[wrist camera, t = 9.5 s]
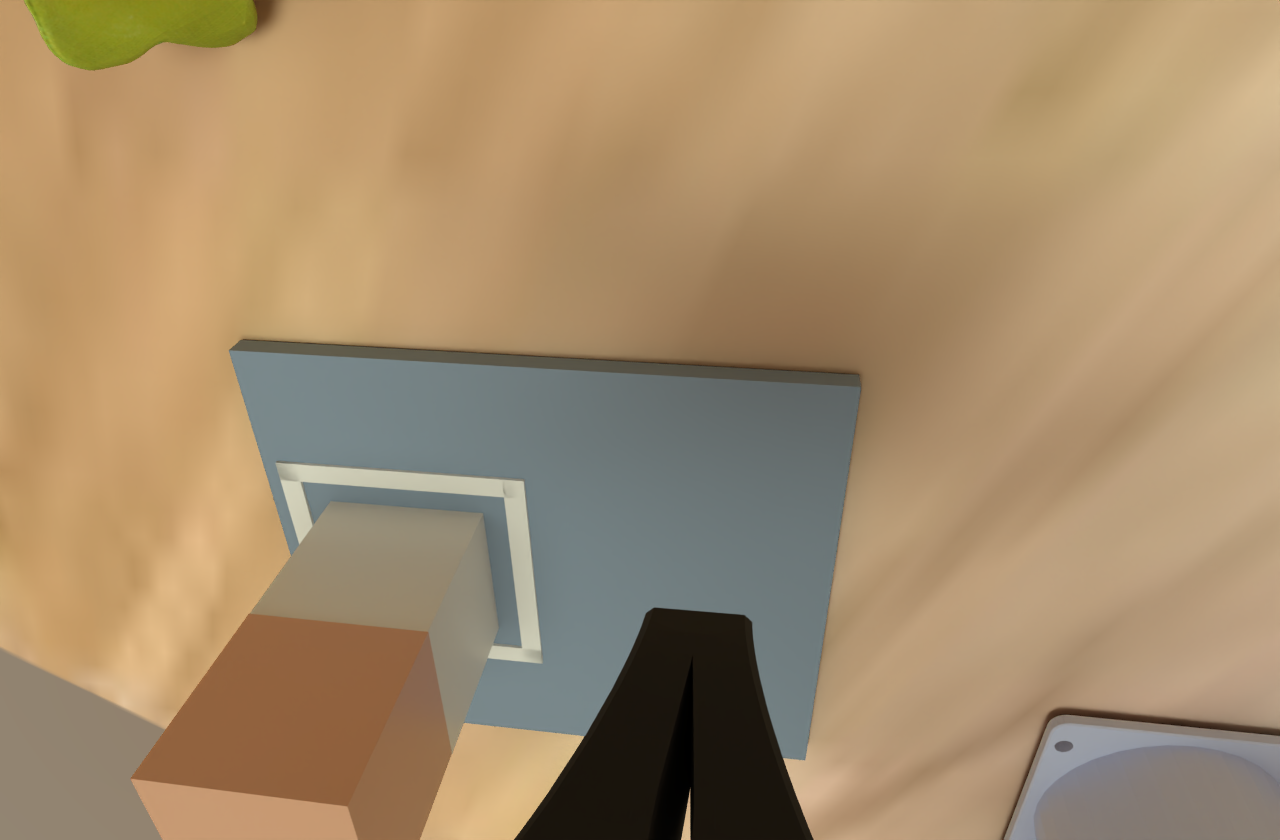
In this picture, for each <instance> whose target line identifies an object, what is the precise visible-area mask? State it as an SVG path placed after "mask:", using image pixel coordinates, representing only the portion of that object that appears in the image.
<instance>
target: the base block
mask: <svg viewBox="0 0 1280 840" xmlns="http://www.w3.org/2000/svg"><path fill="white" fill-rule="evenodd" d="M250 614H257V615H267V616H277V617H287V618H297V619H306V620H316V621H326V622H336V623H346V624H356V625H365V626H375V627H385V628H395V629H405V630H414V631H424V632H429V638H430V643H431V648H432V653H433V658H434V663H435V668H436V674H437V679H438V684H439V689H440V694H441V699H442V704H443V710H444V715H445V720H446V725H447V730H448V735H449V741H450V746H451V751H452V753H453V750H454V747H455V745H456V742H457V739H458V737H459V734H460V731H461V729H462V726H463V723H464V721H465V718H466V715H467V712H468V710H469V707H470V704H471V702H472V699H473V696H474V694H475V691H476V688H477V686H478V683H479V680H480V678H481V675H482V672H483V669H484V667H485V664H486V661H487V659H488V656H489V653H490V651H491V648H492V645H493V643H494V640H495V637H496V634H497V632H498V629H499V625H498V618H497V610H496V603H495V596H494V589H493V582H492V574H491V567H490V560H489V553H488V546H487V538H486V531H485V524H484V517H483V513H473V512H461V511H448V510H436V509H423V508H411V507H398V506H385V505H373V504H360V503H348V502H335V501H330V503H329V504H328V505H327V507H326V508H325V510H324V511H323V512H322V514H321V515H320V517H319V518H318V519H317V521H316V522H315V524H314V525H313V526H312V528H311V529H310V531H309V532H308V533H307V535H306V536H305V537H304V539H303V540H302V542H301V543H300V544H299V546H298V547H297V549H296V550H295V551H294V553H293V554H292V556H291V557H290V558H289V560H288V561H287V563H286V564H285V565H284V567H283V568H282V570H281V571H280V572H279V574H278V575H277V576H276V578H275V579H274V581H273V582H272V583H271V585H270V586H269V588H268V589H267V590H266V592H265V593H264V595H263V596H262V597H261V599H260V600H259V602H258V603H257V604H256V606H255V607H254V608H253V610H252V611H251V613H250Z"/></svg>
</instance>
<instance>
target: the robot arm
mask: <svg viewBox="0 0 1280 840" xmlns="http://www.w3.org/2000/svg"><path fill="white" fill-rule="evenodd" d="M689 792H690V830H691V840H813V837H812V835H811V832H810V830H809V828H808V825H807V822H806V820H805V817H804V815H803V812H802V809H801V807H800V804H799V802H798V799H797V797H796V794H795V791H794V789H793V786H792V783H791V780H790V777H789V775H788V772H787V769H786V766H785V763H784V760H783V757H782V754H781V750H780V747H779V744H778V741H777V738H776V735H775V732H774V729H773V725H772V722H771V719H770V715H769V712H768V708H767V704H766V701H765V696H764V692H763V688H762V684H761V680H760V676H759V671H758V666H757V661H756V655H755V648H754V640H753V628H752V621H751V620H750V619H749V618H747V617H746V616H745V615H740V614H728V613H716V612H704V611H692V610H680V609H668V608H656V607H654V608H652V609H651V610H649V611H648V612H646V614H645V617H644V620H643V623H642V626H641V628H640V631H639V633H638V636H637V638H636V640H635V643H634V645H633V647H632V650H631V652H630V654H629V656H628V658H627V660H626V662H625V664H624V666H623V668H622V670H621V672H620V674H619V676H618V678H617V680H616V682H615V684H614V686H613V688H612V690H611V692H610V693H609V695H608V697H607V699H606V700H605V702H604V704H603V706H602V707H601V709H600V711H599V713H598V714H597V716H596V718H595V720H594V721H593V723H592V725H591V727H590V728H589V730H588V732H587V733H586V735H585V737H584V738H583V740H582V742H581V743H580V745H579V746H578V748H577V750H576V751H575V753H574V754H573V756H572V757H571V759H570V760H569V762H568V763H567V765H566V766H565V768H564V769H563V771H562V772H561V774H560V776H559V777H558V779H557V780H556V782H555V783H554V785H553V786H552V788H551V789H550V791H549V792H548V794H547V795H546V797H545V798H544V799H543V801H542V802H541V804H540V805H539V807H538V808H537V809H536V811H535V812H534V814H533V815H532V816H531V818H530V819H529V820H528V822H527V823H526V825H525V826H524V827H523V829H522V830H521V831H520V833H519V834H518V835H517V837H516V838H515V839H514V840H681V837H682V831H683V826H684V820H685V814H686V809H687V803H688V798H689ZM1004 840H1280V736H1275V735H1265V734H1255V733H1245V732H1235V731H1225V730H1215V729H1205V728H1195V727H1185V726H1175V725H1165V724H1155V723H1145V722H1135V721H1125V720H1115V719H1106V718H1096V717H1086V716H1076V715H1060V716H1056V717H1054V718H1053V719H1051V720H1050V721H1049V723H1048V724H1047V727H1046V729H1045V732H1044V735H1043V737H1042V740H1041V742H1040V745H1039V748H1038V750H1037V753H1036V756H1035V758H1034V761H1033V764H1032V766H1031V769H1030V771H1029V774H1028V777H1027V779H1026V782H1025V785H1024V787H1023V790H1022V793H1021V795H1020V798H1019V800H1018V803H1017V806H1016V808H1015V811H1014V814H1013V816H1012V819H1011V822H1010V824H1009V827H1008V829H1007V832H1006V835H1005V837H1004Z"/></svg>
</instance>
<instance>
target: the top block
mask: <svg viewBox="0 0 1280 840" xmlns="http://www.w3.org/2000/svg"><path fill="white" fill-rule="evenodd" d="M451 754H452V751H451V746H450V741H449V735H448V730H447V725H446V720H445V715H444V710H443V704H442V699H441V694H440V689H439V684H438V679H437V674H436V668H435V663H434V658H433V653H432V648H431V643H430V638H429V632H424V631H414V630H405V629H395V628H385V627H375V626H365V625H356V624H346V623H336V622H326V621H316V620H306V619H297V618H287V617H277V616H267V615H257V614H248V616H247V617H246V619H245V620H244V621H243V623H242V624H241V626H240V627H239V628H238V630H237V631H236V633H235V634H234V635H233V637H232V638H231V640H230V641H229V642H228V644H227V645H226V646H225V648H224V649H223V651H222V652H221V653H220V655H219V656H218V658H217V659H216V660H215V662H214V663H213V665H212V666H211V667H210V669H209V670H208V671H207V673H206V674H205V676H204V677H203V678H202V680H201V681H200V683H199V684H198V685H197V687H196V688H195V690H194V691H193V692H192V694H191V695H190V697H189V698H188V699H187V701H186V702H185V703H184V705H183V706H182V708H181V709H180V710H179V712H178V713H177V715H176V716H175V717H174V719H173V720H172V722H171V723H170V724H169V726H168V727H167V728H166V730H165V731H164V733H163V734H162V736H161V737H160V738H159V740H158V741H157V742H156V744H155V745H154V747H153V748H152V749H151V751H150V752H149V754H148V755H147V756H146V758H145V759H144V761H143V762H142V763H141V765H140V766H139V768H138V769H137V770H136V772H135V773H134V774H133V776H132V777H131V781H132V783H133V784H134V787H135V788H136V790H137V792H138V794H139V796H140V798H141V800H142V802H143V804H144V805H145V807H146V809H147V811H148V813H149V815H150V816H151V819H152V821H153V822H154V824H155V826H156V828H157V830H158V832H159V833H160V836H161V838H162V839H163V840H420V837H421V835H422V832H423V829H424V827H425V824H426V821H427V819H428V816H429V813H430V811H431V808H432V805H433V803H434V800H435V797H436V795H437V792H438V789H439V786H440V784H441V781H442V778H443V776H444V773H445V770H446V768H447V765H448V762H449V760H450V757H451Z"/></svg>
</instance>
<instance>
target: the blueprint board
mask: <svg viewBox="0 0 1280 840" xmlns="http://www.w3.org/2000/svg"><path fill="white" fill-rule="evenodd" d="M229 353H230V356H231V359H232V363H233V366H234V369H235V372H236V376H237V379H238V382H239V386H240V389H241V392H242V396H243V399H244V402H245V405H246V409H247V412H248V415H249V419H250V422H251V425H252V428H253V432H254V435H255V438H256V442H257V445H258V448H259V452H260V455H261V458H262V461H263V465H264V468H265V471H266V475H267V478H268V481H269V484H270V488H271V491H272V494H273V498H274V501H275V504H276V508H277V511H278V514H279V517H280V521H281V524H282V527H283V531H284V534H285V537H286V541H287V544H288V547H289V550H290V554H291V556H292V554H293V553H294V551H295V550H296V549H297V547H298V546H299V544H300V543H301V542H302V540H303V539H304V537H305V536H306V535H307V533H308V532H309V531H310V529H311V528H312V526H313V525H314V524H315V522H316V521H317V519H318V518H319V517H320V515H321V514H322V512H323V511H324V510H325V508H326V507H327V505H328V504H329V503H330V501H335V502H348V503H360V504H373V505H385V506H398V507H411V508H423V509H436V510H448V511H461V512H473V513H483V517H484V524H485V531H486V538H487V546H488V553H489V560H490V567H491V574H492V582H493V589H494V596H495V603H496V610H497V618H498V625H499V629H498V632H497V634H496V637H495V640H494V643H493V645H492V648H491V651H490V653H489V656H488V659H487V661H486V664H485V667H484V669H483V672H482V675H481V678H480V680H479V683H478V686H477V688H476V691H475V694H474V696H473V699H472V702H471V704H470V707H469V710H468V712H467V715H466V718H465V721H464V723H471V724H480V725H489V726H499V727H508V728H517V729H526V730H535V731H544V732H553V733H562V734H571V735H580V736H585V735H586V733H587V732H588V730H589V728H590V727H591V725H592V723H593V721H594V720H595V718H596V716H597V714H598V713H599V711H600V709H601V707H602V706H603V704H604V702H605V700H606V699H607V697H608V695H609V693H610V692H611V690H612V688H613V686H614V684H615V682H616V680H617V678H618V676H619V674H620V672H621V670H622V668H623V666H624V664H625V662H626V660H627V658H628V656H629V654H630V652H631V650H632V647H633V645H634V643H635V640H636V638H637V636H638V633H639V631H640V628H641V626H642V623H643V620H644V617H645V614H646V612H648V611H649V610H651V609H652V608H654V607H656V608H668V609H680V610H692V611H704V612H716V613H728V614H740V615H745V616H746V617H747V618H749V619H750V620H751V621H752V628H753V640H754V648H755V655H756V661H757V666H758V671H759V676H760V680H761V684H762V688H763V692H764V696H765V701H766V704H767V708H768V712H769V715H770V719H771V722H772V725H773V729H774V732H775V735H776V738H777V741H778V744H779V747H780V750H781V754H782V757H783V758H788V759H798V760H805V758H806V751H807V745H808V738H809V731H810V725H811V718H812V712H813V705H814V698H815V692H816V685H817V678H818V672H819V665H820V658H821V652H822V645H823V638H824V632H825V625H826V618H827V612H828V605H829V598H830V592H831V585H832V578H833V572H834V565H835V558H836V552H837V545H838V538H839V532H840V525H841V518H842V512H843V505H844V498H845V492H846V485H847V478H848V472H849V465H850V458H851V452H852V445H853V438H854V432H855V425H856V418H857V412H858V405H859V399H860V392H861V383H860V377H859V375H855V374H837V373H819V372H802V371H784V370H766V369H749V368H731V367H713V366H696V365H678V364H660V363H643V362H625V361H607V360H589V359H572V358H554V357H536V356H519V355H501V354H483V353H466V352H448V351H430V350H413V349H395V348H377V347H360V346H342V345H324V344H306V343H289V342H271V341H253V340H240V341H239V342H238V343H237V344H236V345H234V346H233V347H232V348H231V349H230V350H229Z"/></svg>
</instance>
